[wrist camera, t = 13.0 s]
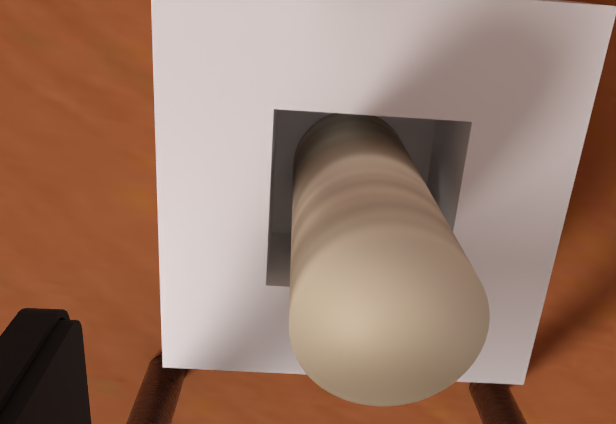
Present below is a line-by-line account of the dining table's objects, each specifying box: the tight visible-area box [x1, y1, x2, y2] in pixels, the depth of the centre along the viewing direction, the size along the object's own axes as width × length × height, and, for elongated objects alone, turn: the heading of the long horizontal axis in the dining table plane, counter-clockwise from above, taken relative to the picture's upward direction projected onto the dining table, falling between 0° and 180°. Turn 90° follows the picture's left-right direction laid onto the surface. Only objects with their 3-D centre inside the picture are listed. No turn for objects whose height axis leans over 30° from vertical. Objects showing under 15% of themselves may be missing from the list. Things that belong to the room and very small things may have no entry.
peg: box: [289, 113, 490, 406], centre depth 16 cm, size 4×4×10 cm
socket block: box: [151, 0, 616, 385], centre depth 20 cm, size 12×12×5 cm
